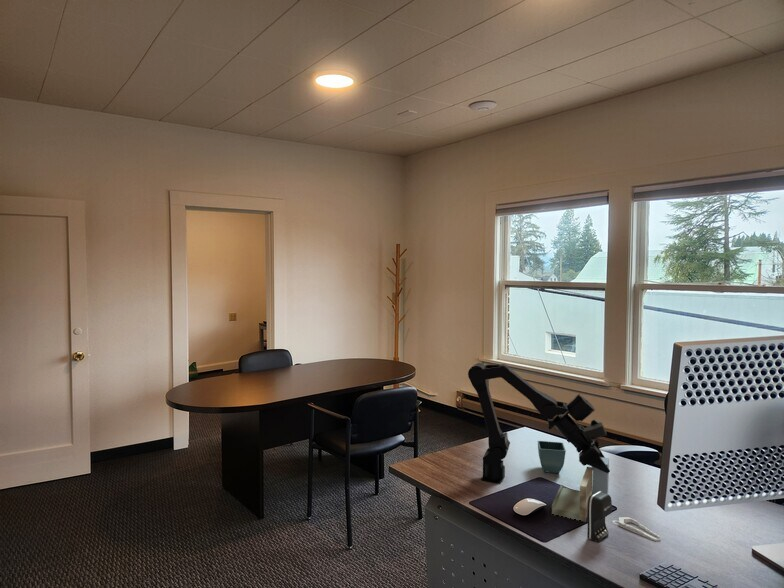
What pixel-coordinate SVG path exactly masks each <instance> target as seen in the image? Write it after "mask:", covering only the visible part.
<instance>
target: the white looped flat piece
mask: <svg viewBox="0 0 784 588" xmlns="http://www.w3.org/2000/svg"><path fill="white" fill-rule="evenodd" d="M628 523H632V524H634V525H636V526H638V528H639V529H638V528H636V527H635V526H632V525H630V524H628ZM612 524H613V525H616V526H617V525H618V527H621V528H623V529H625V530H628V531H630V532H632V533H635V534H637V535H639V536H643V537H644V538H647V539H649V540H651V541H654V542H661V541H662V540H661V539H662V538H661V535H658V534H656V533H655V532H654V531H651V529H649V528H647V527H646V526H645V525H643V524H641V523H640V522H639V520H636V519H634V518H631V517H629V516H622V517H618V520H616V519H615V520H614V519H613V520H612ZM641 529H643V530H644V531H645V532H644V531H643V530H641ZM646 532H647V533H646ZM655 536H656V537H655Z"/></svg>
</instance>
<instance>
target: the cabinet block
mask: <svg viewBox="0 0 784 588" xmlns="http://www.w3.org/2000/svg"><path fill="white" fill-rule="evenodd" d="M604 457H605V456H604ZM604 457H601V459H602V460H603V461H604V463H605V464H606V466H607V467H608V468H609V469H610V458H608V457H605V458H604ZM609 473H610V472H609ZM609 473H606V472H603V471H601V470H599V469H597V468H594V467H593V477H592V494H593V493H595V492H597V491H601V492H603V493H606V494H608V495H609V481H610V479H609V478H610V477H609V475H610V474H609Z"/></svg>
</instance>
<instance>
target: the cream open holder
mask: <svg viewBox="0 0 784 588" xmlns="http://www.w3.org/2000/svg"><path fill="white" fill-rule="evenodd" d="M592 489H593V467H592V466H586V469H585V472H584V474H583V476H582V480H581V482H580V484H579V489H574V488H573V489H572V488H567V487H564V484H560V486H559V488H558V490H557V492H556V495H555V497H554V499H553V501H552V504H551V515H552V514H554V515H553V516H556V515H559V516H558V517H561V516H563V517H562V518H565V517H567V518H566V519H570V518H571V519H570V520H574V519H576V521H579V520H581V521H580V522H584V523H586V521H587V519H588V498H589V496H590V495H592V494H593V491H592ZM586 518H587V519H586Z"/></svg>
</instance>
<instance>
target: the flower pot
mask: <svg viewBox="0 0 784 588" xmlns="http://www.w3.org/2000/svg"><path fill="white" fill-rule="evenodd" d="M537 450H538V451H537V452H538V457H539V462H540V466H541V468H542V470H543V472H544V473H556V474H560V472H561V471H562V470H563V467H564V464H565V458H566V452H567V450H566V448H565V445H564V442H560V441H548V440H547V441H546V440H537Z"/></svg>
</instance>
